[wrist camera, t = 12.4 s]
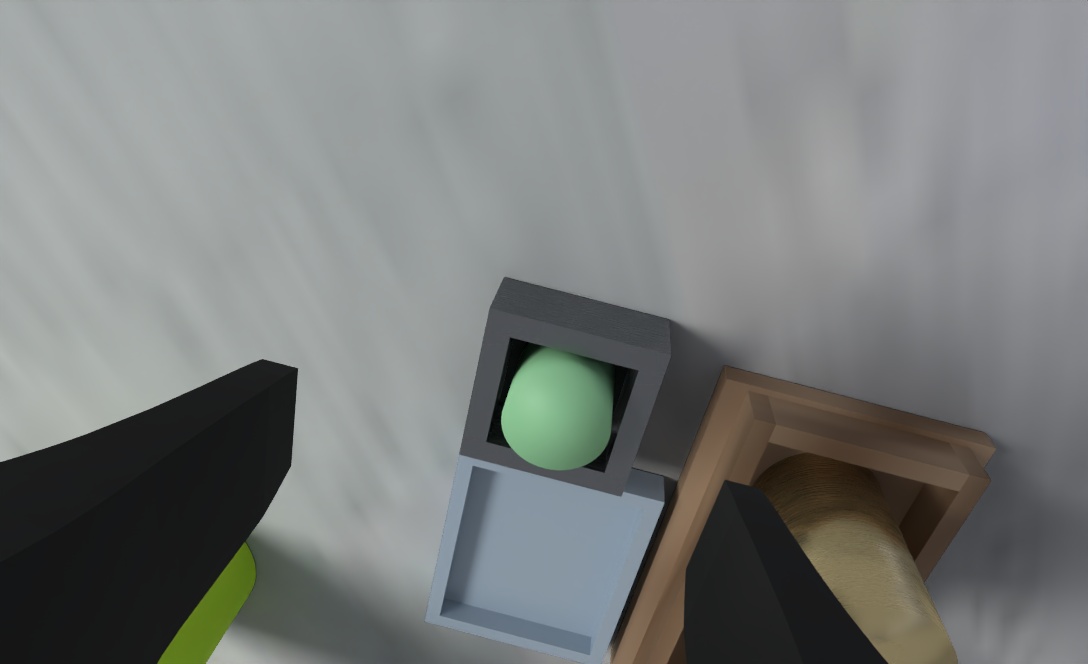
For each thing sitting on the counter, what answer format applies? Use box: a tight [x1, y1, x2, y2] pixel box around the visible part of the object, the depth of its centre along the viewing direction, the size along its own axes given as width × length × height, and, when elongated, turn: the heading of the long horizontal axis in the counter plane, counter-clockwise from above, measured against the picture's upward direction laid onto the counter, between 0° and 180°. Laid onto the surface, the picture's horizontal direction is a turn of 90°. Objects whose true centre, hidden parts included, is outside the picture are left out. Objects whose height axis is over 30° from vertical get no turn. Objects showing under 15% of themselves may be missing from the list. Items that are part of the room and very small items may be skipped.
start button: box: [501, 343, 615, 470], centre depth 21 cm, size 3×3×3 cm
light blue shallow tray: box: [424, 448, 665, 664], centre depth 25 cm, size 7×8×1 cm
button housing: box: [459, 277, 671, 497], centre depth 21 cm, size 5×5×2 cm
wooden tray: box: [610, 366, 996, 664], centre depth 23 cm, size 8×13×2 cm, turn 167°
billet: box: [753, 452, 958, 664], centre depth 19 cm, size 4×4×7 cm
